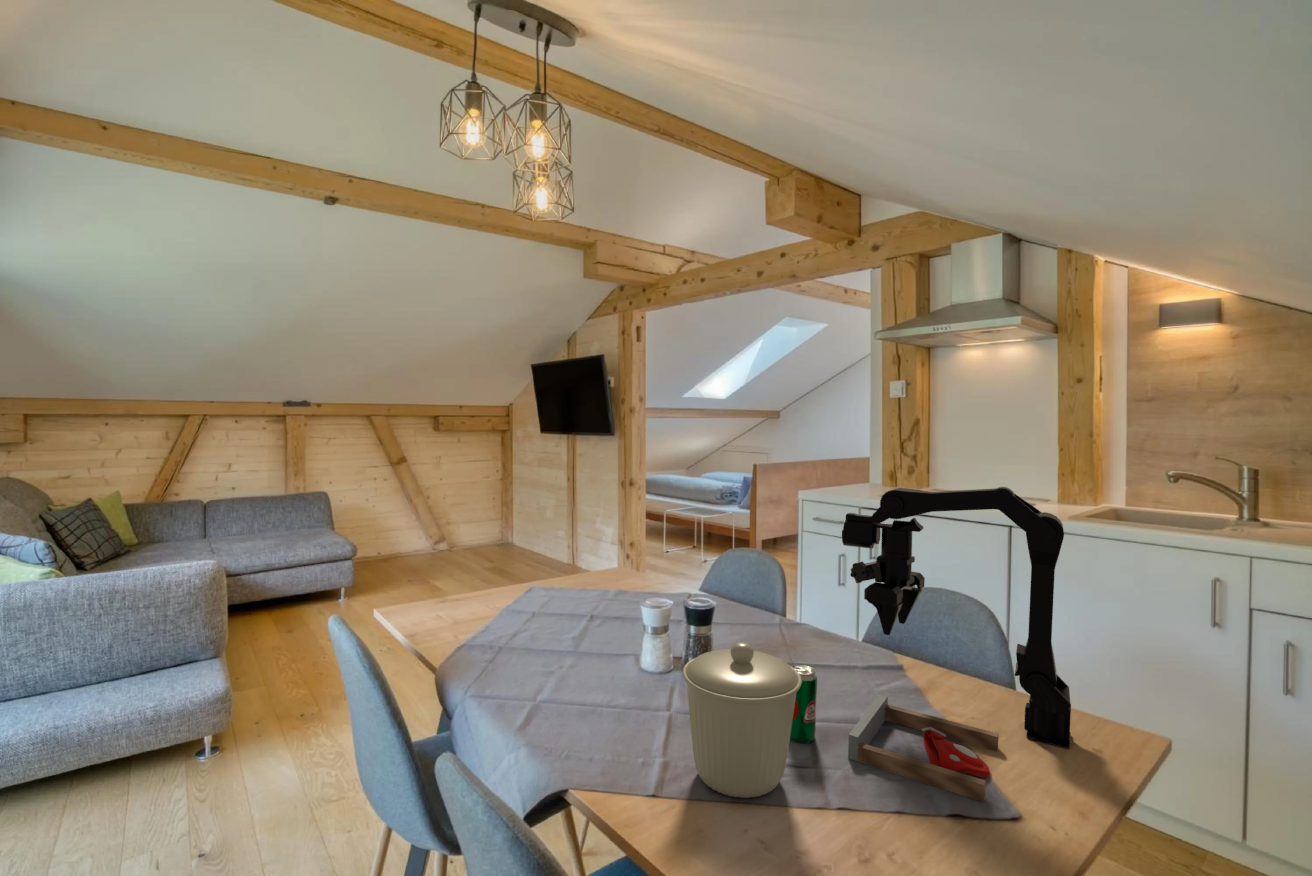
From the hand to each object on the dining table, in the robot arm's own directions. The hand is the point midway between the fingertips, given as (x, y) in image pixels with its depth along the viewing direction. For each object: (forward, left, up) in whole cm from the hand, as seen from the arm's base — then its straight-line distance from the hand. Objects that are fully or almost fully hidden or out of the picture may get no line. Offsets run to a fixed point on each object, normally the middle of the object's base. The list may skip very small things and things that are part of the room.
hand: (894, 628), depth 126 cm
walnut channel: (-10, +18, -14) cm, 25 cm away
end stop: (0, +18, -14) cm, 23 cm away
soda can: (+9, +26, -15) cm, 31 cm away
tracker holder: (-14, +18, -15) cm, 27 cm away
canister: (+12, +44, -15) cm, 48 cm away
